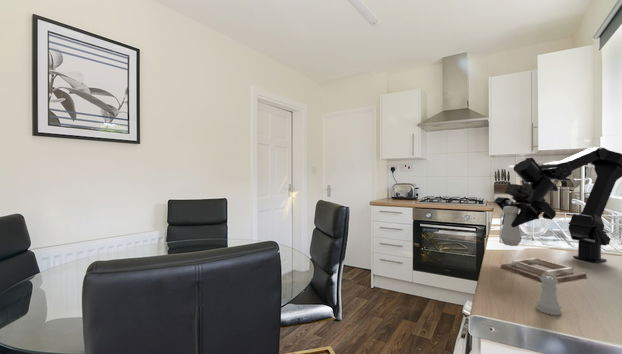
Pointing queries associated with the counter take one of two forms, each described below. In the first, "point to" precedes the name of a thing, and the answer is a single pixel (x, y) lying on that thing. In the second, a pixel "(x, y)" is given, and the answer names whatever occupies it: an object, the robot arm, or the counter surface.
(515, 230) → the salt shaker
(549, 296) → the rook chess piece
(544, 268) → the collar board
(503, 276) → the counter surface
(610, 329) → the counter surface
